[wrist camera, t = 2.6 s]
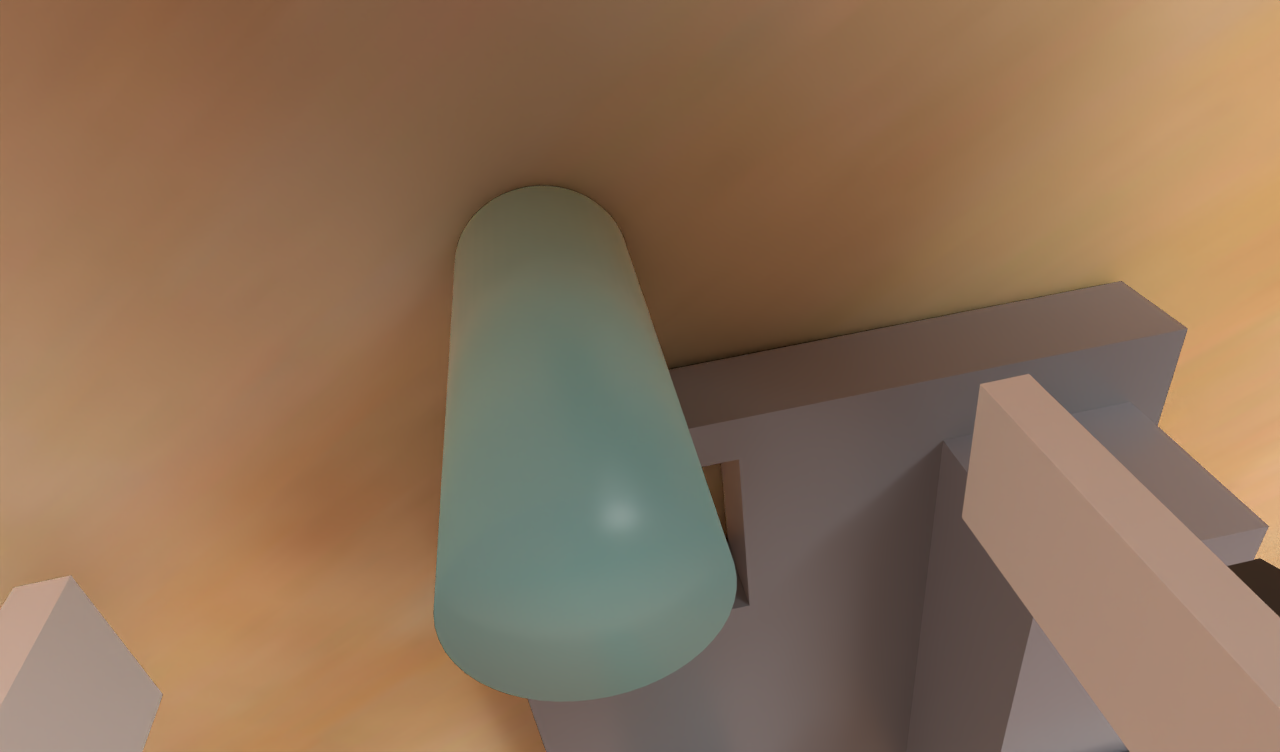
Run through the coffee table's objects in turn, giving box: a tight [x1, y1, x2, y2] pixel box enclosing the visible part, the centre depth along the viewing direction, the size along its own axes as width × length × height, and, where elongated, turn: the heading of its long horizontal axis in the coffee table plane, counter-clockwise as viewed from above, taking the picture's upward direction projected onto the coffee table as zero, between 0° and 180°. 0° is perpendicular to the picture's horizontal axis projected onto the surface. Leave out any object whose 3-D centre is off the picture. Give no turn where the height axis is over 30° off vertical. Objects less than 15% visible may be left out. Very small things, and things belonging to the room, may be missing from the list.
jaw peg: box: [433, 186, 737, 702], centre depth 15 cm, size 4×4×10 cm
